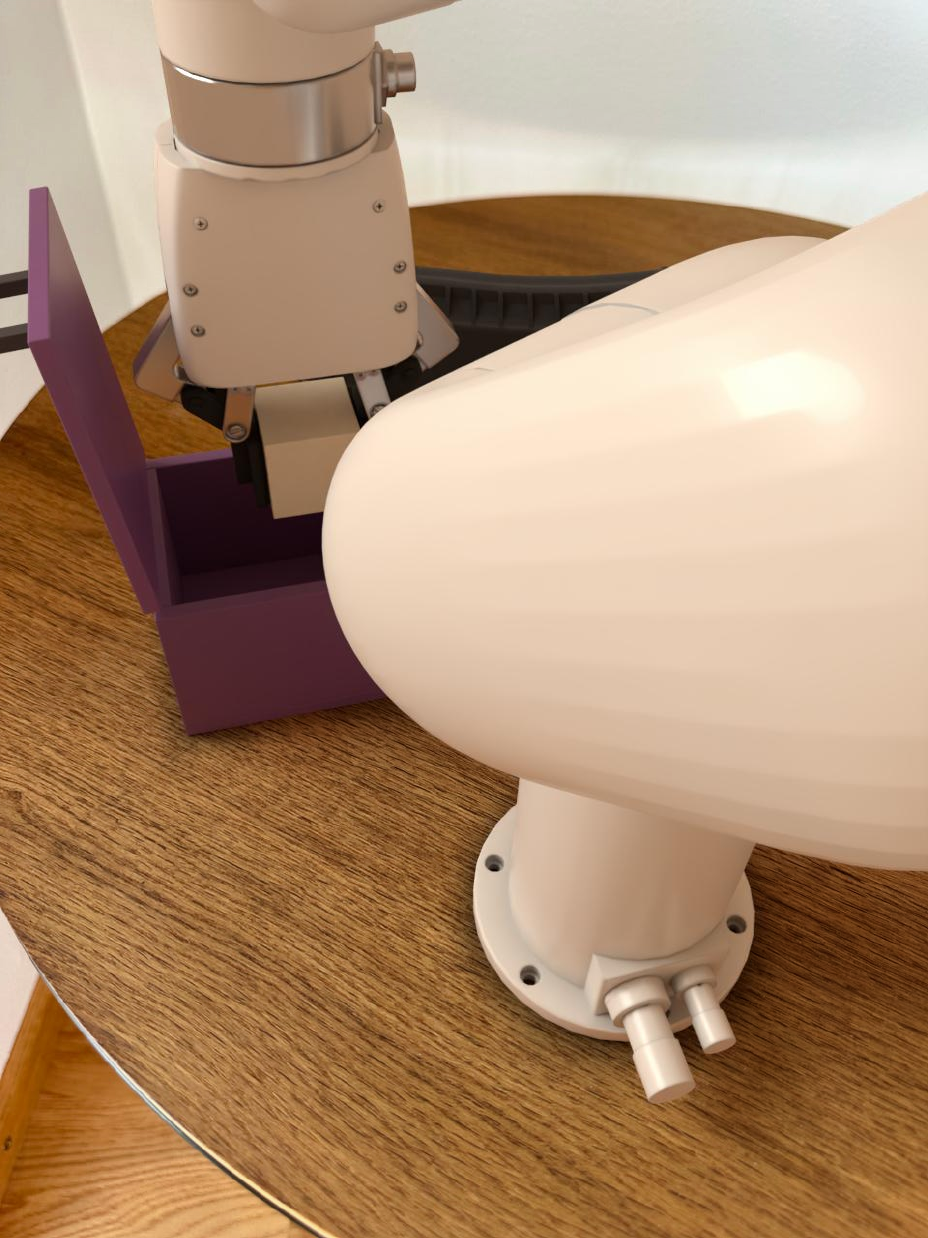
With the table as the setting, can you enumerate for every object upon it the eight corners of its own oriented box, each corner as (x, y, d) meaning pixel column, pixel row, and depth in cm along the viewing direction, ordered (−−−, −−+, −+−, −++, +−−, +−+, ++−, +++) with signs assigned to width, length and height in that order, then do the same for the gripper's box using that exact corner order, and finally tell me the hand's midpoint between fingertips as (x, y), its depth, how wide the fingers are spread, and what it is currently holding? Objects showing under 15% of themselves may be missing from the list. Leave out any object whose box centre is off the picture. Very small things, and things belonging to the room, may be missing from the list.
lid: (47, 184, 45) (-76, 206, 44) (50, 337, 37) (-99, 366, 37) (145, 451, 56) (47, 472, 55) (161, 611, 48) (48, 638, 48)
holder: (398, 541, 65) (394, 424, 59) (444, 687, 58) (447, 570, 51) (169, 578, 63) (139, 460, 56) (186, 736, 55) (154, 620, 49)
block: (348, 448, 55) (343, 376, 51) (365, 505, 52) (361, 432, 48) (261, 461, 54) (250, 388, 50) (273, 519, 51) (263, 446, 48)
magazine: (244, 276, 68) (729, 168, 61) (255, 250, 70) (725, 143, 63) (338, 481, 80) (753, 412, 72) (345, 453, 82) (748, 384, 75)
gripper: (470, 41, 43) (459, 412, 57) (31, 72, 40) (130, 458, 53) (525, 121, 38) (498, 505, 52) (31, 163, 35) (140, 562, 49)
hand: (311, 478), depth 53 cm, fingers closed on block, 4 cm apart
